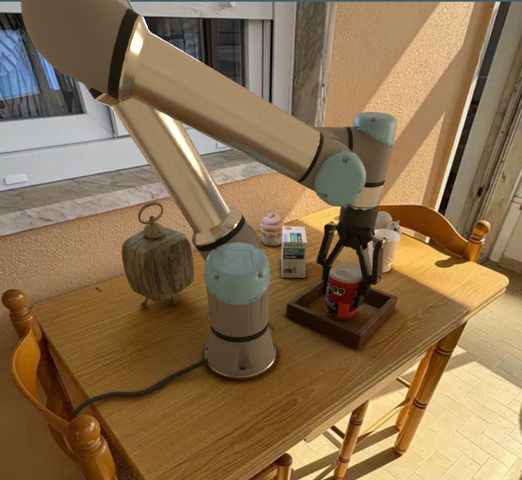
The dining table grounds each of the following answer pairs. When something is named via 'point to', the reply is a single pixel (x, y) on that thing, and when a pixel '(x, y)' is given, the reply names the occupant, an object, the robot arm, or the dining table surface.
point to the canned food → (342, 291)
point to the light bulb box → (293, 252)
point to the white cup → (386, 247)
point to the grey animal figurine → (386, 222)
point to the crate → (335, 328)
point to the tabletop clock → (157, 260)
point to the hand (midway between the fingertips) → (342, 298)
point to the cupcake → (271, 229)
